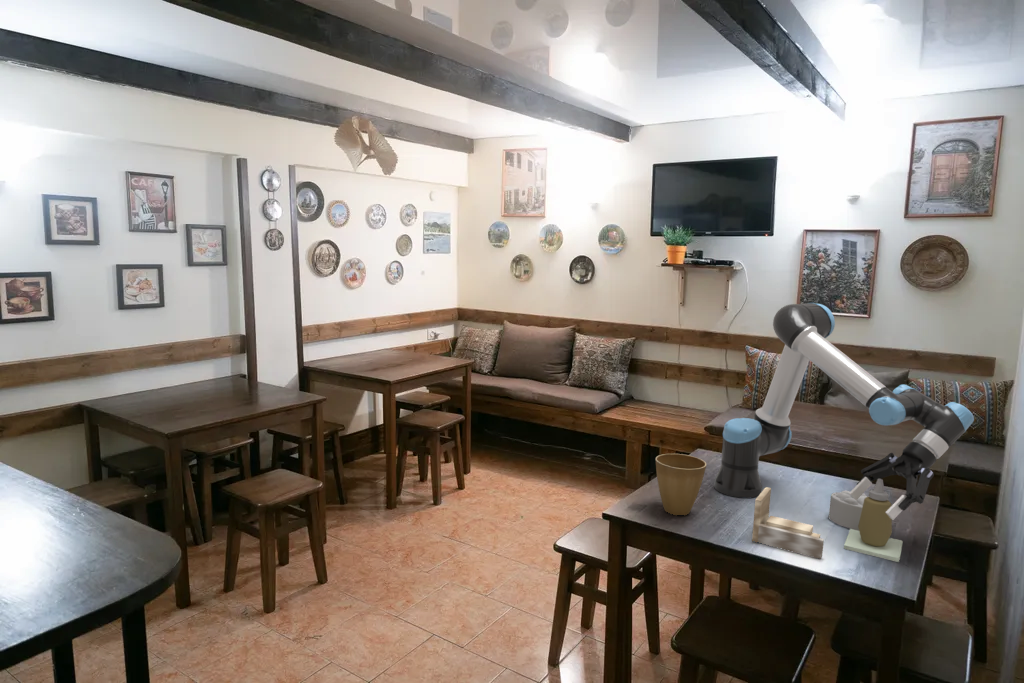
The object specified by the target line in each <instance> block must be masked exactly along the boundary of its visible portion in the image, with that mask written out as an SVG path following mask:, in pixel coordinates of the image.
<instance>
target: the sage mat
mask: <svg viewBox="0 0 1024 683" xmlns="http://www.w3.org/2000/svg"><path fill="white" fill-rule="evenodd" d="M903 542H904V541H903V540H901V539H896V538H892V537H890V538H889V539H888V541H887V543H886V545H885V546H880V547H878V546H872V545H869V544H866V543H864V542H863V541H862V540H861V536H860V532H859V531H858V530H854V529H850V528H849V531H848V534H847V536H846V539H845V541H844V544H843V549H844V550H846V551H847V550H848V551H852V552H856V553H860V554H863V555H868V556H872V557H877V558H879V559H880V558H881V559H885V560H888V561H893V562H896V563H900V561H899V560H900V559H901V556H902V555H901V554H902V549H903Z"/></svg>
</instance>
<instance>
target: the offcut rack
mask: <svg viewBox="0 0 1024 683" xmlns="http://www.w3.org/2000/svg"><path fill="white" fill-rule="evenodd" d="M771 494H772V487H764V488H763V489H762V492H761V493H760V495H759V496H757V497H755V500H754V501H755V502H754V512H753V523H752V524H753V526H752V536H751V537H752V538H751V541H752V542H753V541H755V542H754V543H757V542H759V543H758V544H760V543H762V544H761V545H764V544H766V545H765V546H768V545H769V547H772V546H773V547H772V548H776V547H778V548H777V549H780V548H782V549H781V550H784V549H785V550H784V551H788V550H789V551H788V552H791V551H793V552H792V553H796V554H800V555H804V556H808V557H811V558H815V559H819V560H822V558H823V552H824V543H825V542H824V540H825V539H824V538H821V533H816V532H814V530H813V529H814V525H813V524H808V523H805V522H799V521H795V520H791V519H786V518H782V517H779V516H778V517H777V516H773V515H770V508H771V507H770V506H771Z"/></svg>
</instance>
